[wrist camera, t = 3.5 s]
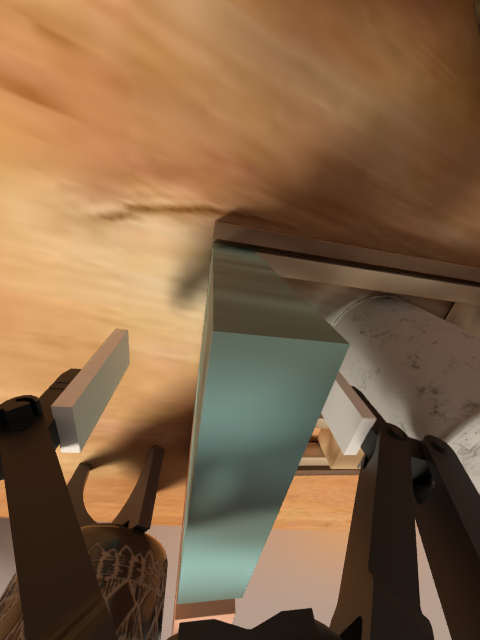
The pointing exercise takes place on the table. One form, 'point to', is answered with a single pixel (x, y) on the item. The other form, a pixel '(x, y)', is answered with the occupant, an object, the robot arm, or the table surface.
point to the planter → (115, 561)
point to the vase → (477, 11)
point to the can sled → (267, 399)
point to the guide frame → (346, 253)
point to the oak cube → (337, 452)
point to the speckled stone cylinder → (416, 372)
